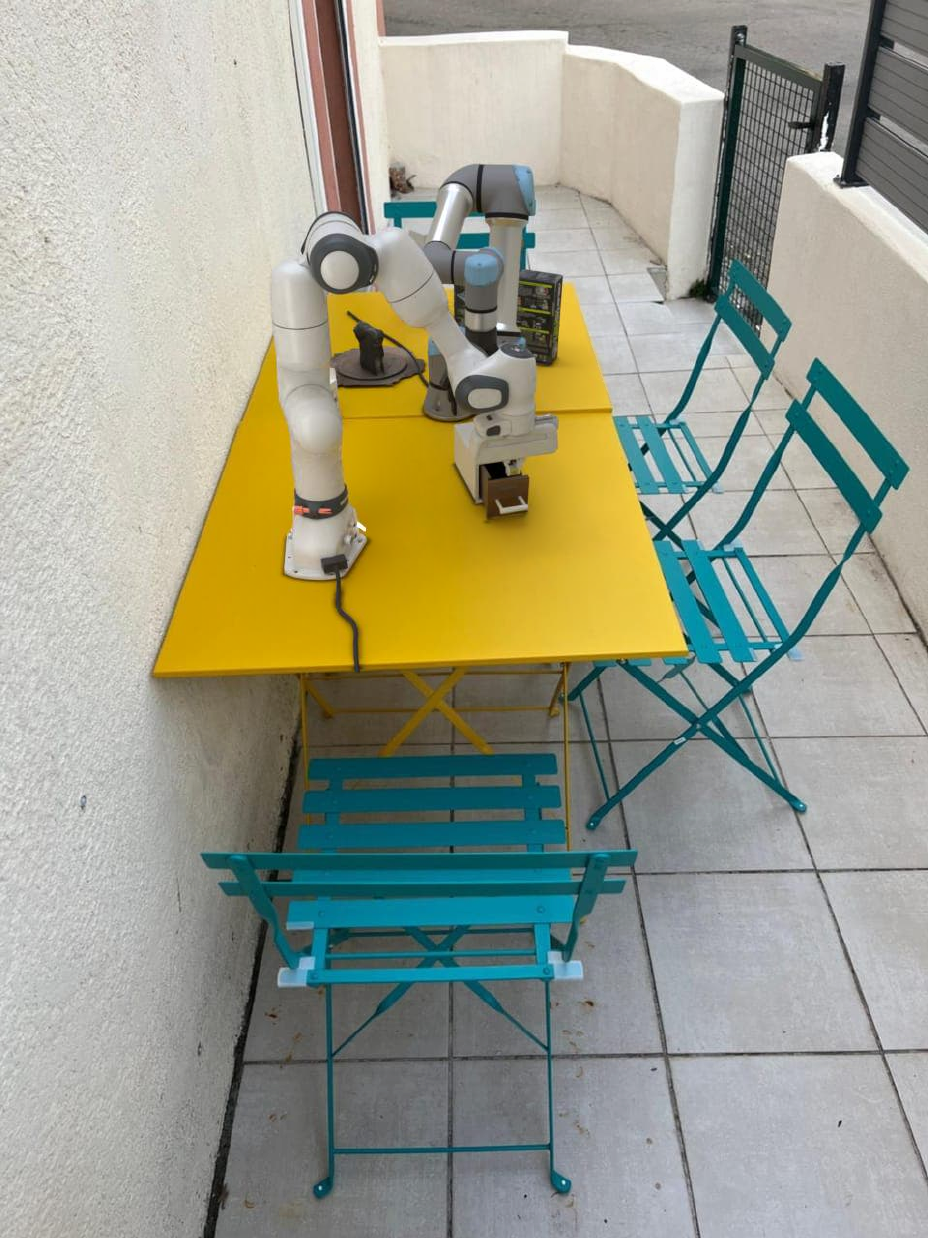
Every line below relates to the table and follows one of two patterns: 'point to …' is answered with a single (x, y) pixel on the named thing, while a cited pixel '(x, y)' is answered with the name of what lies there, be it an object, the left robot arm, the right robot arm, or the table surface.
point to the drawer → (502, 490)
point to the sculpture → (373, 360)
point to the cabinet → (467, 459)
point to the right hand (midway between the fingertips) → (480, 409)
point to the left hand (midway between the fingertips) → (512, 473)
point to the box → (531, 312)
